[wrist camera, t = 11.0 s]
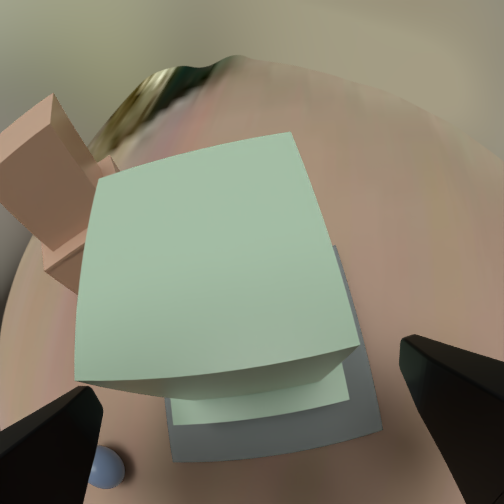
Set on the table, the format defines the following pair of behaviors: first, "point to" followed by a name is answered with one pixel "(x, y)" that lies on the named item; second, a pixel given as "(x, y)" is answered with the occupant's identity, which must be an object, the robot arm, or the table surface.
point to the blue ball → (106, 469)
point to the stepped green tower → (214, 286)
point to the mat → (287, 419)
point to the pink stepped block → (51, 185)
